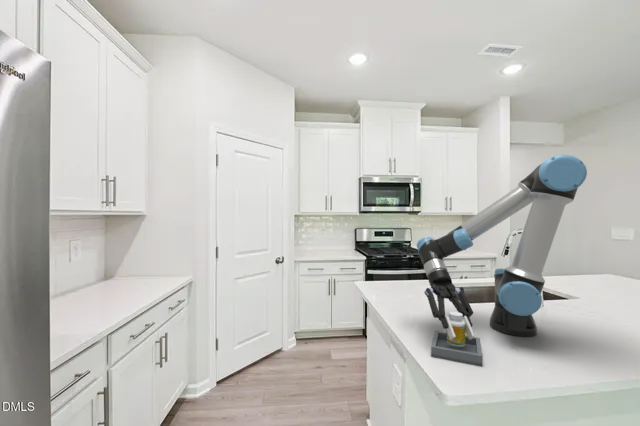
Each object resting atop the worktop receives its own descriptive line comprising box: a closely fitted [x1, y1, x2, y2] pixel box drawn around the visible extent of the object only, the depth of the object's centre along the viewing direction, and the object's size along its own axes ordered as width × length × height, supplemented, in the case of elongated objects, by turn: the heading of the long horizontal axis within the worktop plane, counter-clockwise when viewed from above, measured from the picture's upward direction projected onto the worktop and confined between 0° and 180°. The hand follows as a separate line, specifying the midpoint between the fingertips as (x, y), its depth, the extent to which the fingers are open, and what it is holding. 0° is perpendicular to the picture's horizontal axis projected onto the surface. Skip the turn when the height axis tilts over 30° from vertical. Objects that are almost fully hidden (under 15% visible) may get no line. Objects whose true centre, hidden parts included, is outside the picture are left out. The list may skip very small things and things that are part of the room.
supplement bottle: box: [446, 311, 466, 347], centre depth 95 cm, size 5×5×10 cm
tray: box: [430, 330, 483, 367], centre depth 95 cm, size 14×14×3 cm
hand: (462, 337), depth 91 cm, fingers closed on supplement bottle, 5 cm apart
